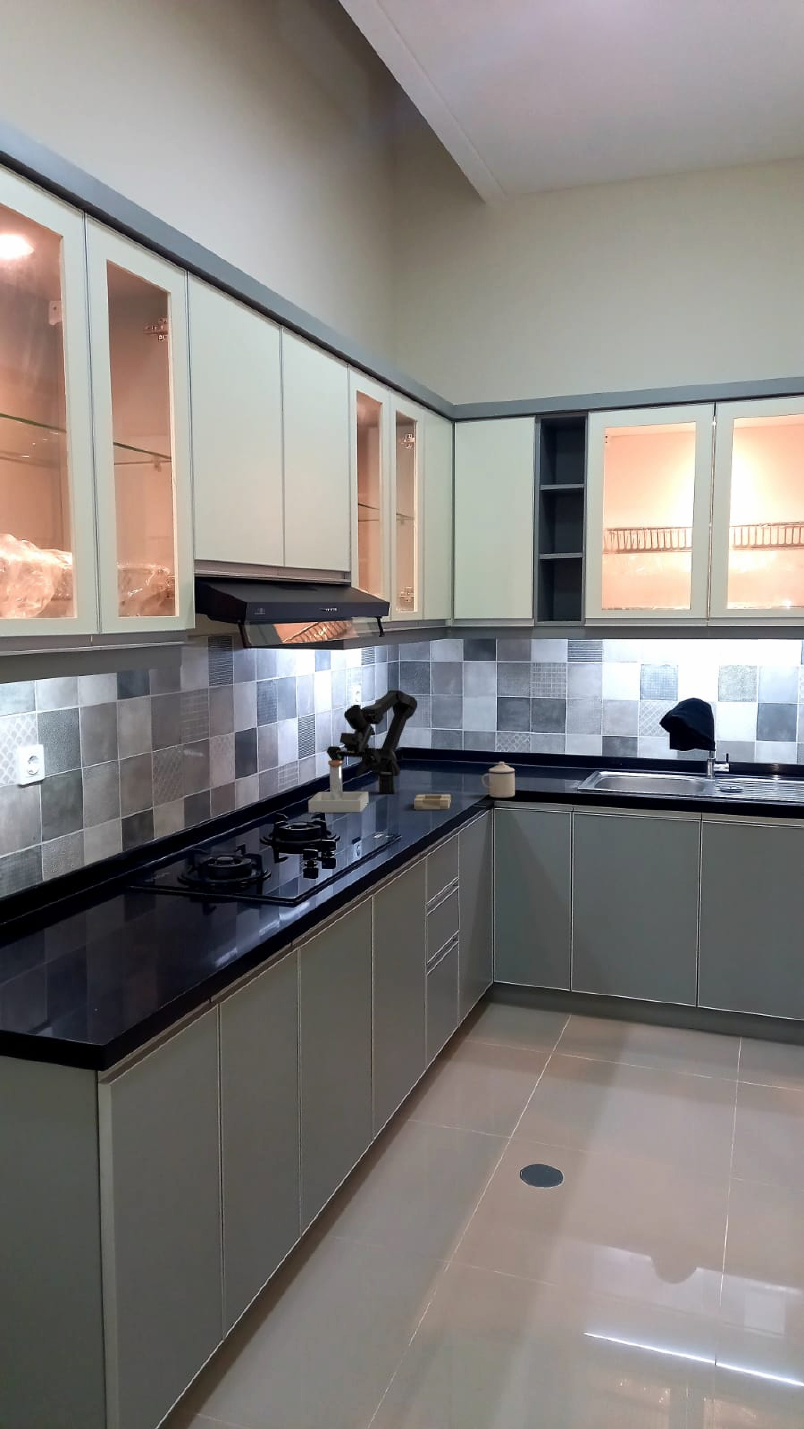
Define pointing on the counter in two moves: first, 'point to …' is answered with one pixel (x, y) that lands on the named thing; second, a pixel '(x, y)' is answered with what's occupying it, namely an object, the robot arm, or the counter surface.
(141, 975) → the counter surface
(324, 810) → the tray
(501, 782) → the teacup with lid
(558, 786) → the counter surface
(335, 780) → the metal pin
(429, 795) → the block
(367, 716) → the robot arm
